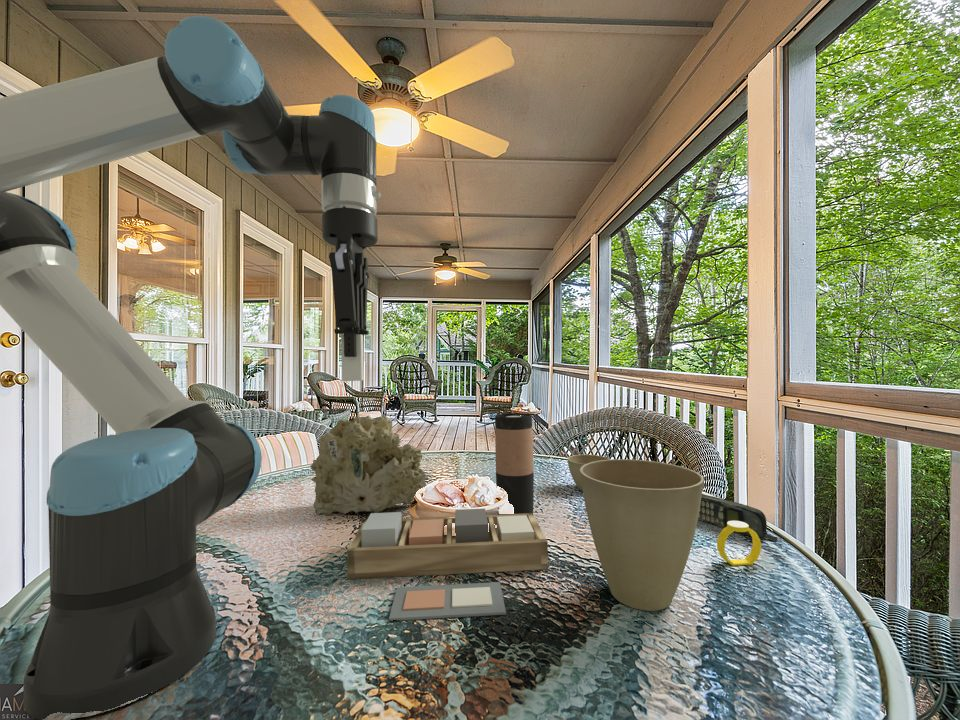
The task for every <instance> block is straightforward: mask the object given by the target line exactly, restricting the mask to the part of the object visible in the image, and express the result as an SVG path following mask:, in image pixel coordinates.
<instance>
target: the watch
mask: <svg viewBox="0 0 960 720" xmlns="http://www.w3.org/2000/svg"><path fill="white" fill-rule="evenodd" d="M734 531H736V532H747V531H749V533H750V535H751V536H750V537H751V540H752V547H751V550H750V552H749V554H748V555H746V557H745V558H742V559H741V558H740V559H729V558H728V555H727V554H726V551H725V550H726V541H727V539H728V537H729V535H731V534H732V533H735V532H734ZM716 548H717V551H718V554H719V556H720V557H721V558H722V559H723V560H724V561H726V562H727V563H728V564H729V565H731V566H733V567H736V566H751V565H753V564H754V563H755V562H757V560H758V559H759V557H760V555H761V552H762V543H761V537H760V536H759V537H758V535H757V534H756V532H755V531H753V530H752V529H750V528H749V525H748V524H747V523H745V522H741V521H728V522H727V527H725V528H722V530H721V531H720V533H719V534H718V536H717V541H716Z"/></svg>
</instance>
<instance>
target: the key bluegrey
mask: <svg viewBox="0 0 960 720" xmlns="http://www.w3.org/2000/svg"><path fill="white" fill-rule="evenodd" d="M401 519H402V511H395V512H393V511H392V512H378V513H376V512H371V513H370V514H369V516H368V518H367V519H366V520H367V521H366V523H365V524H364V526H363V528H362V530H361V533H362V547H384V546H397V543H398V540H399V537H400V534H401V531H402V521H401Z"/></svg>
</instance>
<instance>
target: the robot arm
mask: <svg viewBox="0 0 960 720" xmlns="http://www.w3.org/2000/svg"><path fill="white" fill-rule="evenodd" d="M168 31H169V32H168V33H167V35H166V37H165V41H164V56H156V57H153V58H147V59H145V60H141V61H137V62H134V63H129V64H127V65H122V66H119V67H114V68H111V69H107V70H102V71H98V72H96V73H92V74H87V75H84V76H83V75H82V76H81V77H76V78H72V79H68V80H65V81H61V82H56V83H53V84H49V85H46V86H41V87H38V88H37V87H36V88H34V89H31V90H30V89H29V90H26V91H23V92H19V93H15V94H10V95H8V96H7V95H6V96H3V97H0V307H1V308H2V309H3V310H4V311H5V312H6V313H7V314H8V315H9V317H10V318H11V319H12V320H13V321H14V322H15V323H16V324H17V326H19V327H20V329H21V330H22V331H23V332H24V333H25V334H26V335H27V336H28V338H29V339H30V340H31V341H32V342H33V343H34V344H35V345H36V346H37V347H38V349H39V350H40V351H41V352H42V353H43V354H44V355H45V356H46V357H47V358H48V360H49V361H50V362H52V364H53V365H54V366H55V367H56V368H57V370H58V371H59V372H60V373H61V374H62V375H63V376H64V377H65V378H66V379H67V381H69V383H70V384H71V385H72V386H73V387H74V388H75V389H76V390H77V392H78V393H80V395H81V396H82V397H83V398H84V399H85V400H86V401H87V402H88V404H89V405H90V406H91V407H92V408H93V409H94V410H95V411H96V413H97V414H98V415H99V416H100V417H101V418H102V419H103V420H104V421H105V422H106V424H107V425H108V426H109V427H110V428H111V429H112V430H113V431H114V432H115V433H116V434H108V435H104V436H100V437H95V438H93V439H90V440H86V441H83V442H80V443H78V444H76V445H74V446H73V445H72V446H71V447H68V449H65V450H64V451H63V452H61V453H60V454H59V455H58V456H57V457H56V458H55V459H54V461H53V463H52V465H51V468H50V474H49V475H50V476H49V488H48V490H47V493H46V505H47V507H48V508H47V509H48V511H47V512H48V547H49V549H48V550H49V553H48V555H49V557H48V558H49V588H50V596H49V597H50V603H49V604H50V605H49V613H48V615H47V617H46V620H45V623H44V626H43V628H42V631H41V632H40V633H41V634H39V635H40V636H39V638H38V641H37V644H36V647H35V649H34V652H33V655H32V657H31V661H30V663H29V665H28V667H27V668H26V672H25V673H24V678H23V694H22V695H23V699H22V700H23V709H24V711H25V713H26V714H27V715H29V716H30V717H31V718H34V719H36V720H42V719H45V718H46V717H47V716H49V715H50V714H53V713H57V712H60V713H61V712H62V713H70V714H71V713H86V712H90V711H92V712H93V711H104V710H108V709H112V708H115V707H117V706H120V705H121V704H124V703H126V702H128V701H131V700H134V699H136V698H138V697H141V696H144V695H146V694H150V693H151V692H154V691H156V690H158V691H159V689H160V690H162V689H164V688H165V687H167V686H169V685H170V684H171V683H173V682H175V681H176V680H178V679H179V678H181V677H182V676H184V675H186V674H187V673H188V672H189V671H190V670H191V669H193V668H194V667H195V666H196V665H197V664H199V662H201V661H202V659H203V658H204V657H206V655H207V654H208V652H210V650H211V648H212V647H213V645H214V642H215V641H216V638H217V637H216V636H217V618H216V612H215V609H214V607H213V605H212V604H211V601H210V599H209V595H208V593H207V591H206V588H205V586H204V584H203V581H202V579H201V577H200V575H199V574H200V573H199V572H198V568H197V526H199V525H200V524H202V523H203V522H205V521H206V520H209V518H210V517H212V516H214V515H215V514H217V513H218V512H220V511H222V510H224V509H225V508H229V507H231V506H232V505H234V504H235V503H236V502H237V501H238V500H239V499H241V498H242V497H244V494H246V493H247V492H248V491H249V490H250V489H251V488H252V487H253V485H254V484H255V483H256V481H257V479H258V477H259V474H260V473H261V467H262V463H263V462H262V461H263V458H262V457H263V455H262V450H261V446H260V444H259V443H260V442H259V441H258V439H257V438H256V436H255V435H254V433H252V432H251V431H250V430H249V429H247V428H246V427H244V426H242V425H240V424H237V423H233V422H227V421H224V420H223V419H222V418H221V416H219V414H218V413H217V412H216V411H215V409H213V407H212V406H211V405H210V404H209V403H207V402H206V401H201V400H192V399H188V398H187V397H186V395H184V394H183V392H182V391H181V390H180V388H178V387H177V386H176V385H175V383H174V382H173V381H172V380H171V379H170V378H169V376H168V375H166V373H165V372H164V371H163V370H162V369H161V368H160V367H159V365H158V364H157V363H156V362H155V361H154V360H153V359H152V357H150V355H149V354H148V353H147V352H146V351H145V350H144V349H143V347H141V345H140V344H139V343H138V342H137V341H136V340H135V338H133V337H132V335H131V334H130V332H128V331H127V329H126V328H125V327H124V326H123V325H122V324H121V322H119V321H118V320H117V319H116V317H115V316H114V315H113V314H112V313H111V312H110V310H109V309H108V308H107V307H106V306H105V305H104V304H103V303H102V302H101V301H100V299H98V297H97V296H96V295H95V294H94V293H93V291H91V289H89V287H88V286H87V285H86V284H85V283H84V281H82V279H81V278H80V277H79V275H77V274H78V272H79V270H80V267H81V266H80V260H79V257H78V256H77V255H78V254H77V252H76V251H75V248H76V247H77V243H76V242H77V241H76V238H75V236H74V234H73V231H72V230H71V229H70V227H69V226H68V225H67V224H66V223H65V221H64V220H63V219H62V218H60V217H59V216H58V215H57V214H56V213H54V212H53V211H51V210H50V209H47V208H45V207H44V206H41V205H39V204H38V203H37V202H36V201H33V200H31V199H29V198H27V197H25V196H21V195H18V194H15V193H11V192H9V191H13V190H16V189H20V188H23V187H27V186H30V185H35V184H38V183H41V182H45V181H47V180H49V181H50V180H52V179H55V178H58V177H62V176H66V175H70V174H72V173H76V172H80V171H82V170H86V169H87V170H88V169H90V168H93V167H99V166H101V165H104V164H108V163H111V162H115V161H119V160H121V159H125V158H130V157H132V156H133V157H134V156H136V155H140V154H142V153H147V152H150V151H154V150H157V149H161V148H164V147H168V146H171V145H175V144H179V143H182V142H186V141H188V140H193V139H196V138H199V137H203V136H206V135H211V134H215V133H218V132H222V141H223V145H224V146H223V147H224V148H225V152H226V154H227V155H228V156H229V157H230V158H229V159H230V161H231V163H232V164H233V166H234V167H235V168H236V169H237V170H238V171H240V172H241V173H242V172H243V173H246V174H256V175H261V176H266V177H267V176H268V177H269V176H275V175H276V176H277V175H278V176H279V175H280V176H282V175H283V176H286V175H287V176H290V175H291V176H294V175H295V176H296V175H299V176H300V175H302V176H305V175H306V176H321V181H320V182H321V185H320V186H321V188H320V189H321V192H320V193H321V197H320V198H321V210H322V212H323V213H322V215H321V228H322V229H321V230H322V234H321V236H322V238H323V241H325V243H328V244H329V245H330V246H334V247H335V251H334V252H333V251H332V252H331V251H330V252H329V254H328V259H329V262H330V269H331V277H332V280H331V281H332V287H333V288H332V290H333V301H334V302H333V303H334V315H335V326H336V328H335V329H333V330H334V331H333V332H334V334H335V335H337V334H338V335H340V339H341V340H340V343H341V345H340V347H341V348H340V349H341V381H342V382H355V381H356V382H358V381H359V382H360V381H361V382H362V381H365V376H364V375H365V372H364V371H365V370H364V368H365V366H364V365H365V364H364V363H365V362H364V336H368V335H369V334H370V333H369V331H370V330H367V327H368V326H367V316H368V315H367V313H368V287H369V278H370V274H369V272H368V266H369V265H368V258H367V257H365V255H364V254H365V253H364V250H365V249H366V248H371V247H373V246H375V245H376V244H377V243H378V240H379V238H378V219H377V217H376V215H377V213H378V212H377V210H378V207H377V200H376V199H381V197H382V195H381V191H377V145H378V144H377V139H376V128H375V127H376V125H375V116H374V114H373V112H372V109H371V108H370V107H369V105H367V104H366V103H365V102H364V101H362V100H360V99H358V98H356V97H354V96H350V95H345V94H335V95H333V96H332V97H329V96H328V97H326V98H324V99H323V101H322V102H321V103H320V106H319V108H320V109H319V112H318V115H302V114H301V115H300V114H299V115H298V114H297V115H296V114H289V113H288V112H287V110H286V108H285V107H284V105H283V103H282V102H281V100H280V99H279V96H278V95H277V94H276V92H275V90H274V89H273V88H272V85H271V84H270V82H269V80H268V78H267V76H266V75H265V74H264V71H263V69H262V66H261V63H259V62H258V60H257V59H256V57H255V56H254V55H253V53H251V52H250V51H249V49H248V48H247V46H246V45H245V43H244V42H243V41H242V39H241V37H240V36H239V35H238V34H237V32H235V30H234V29H233V28H231V27H230V26H229V25H228V24H227V23H225V22H224V21H222V20H219V19H217V18H215V17H211V16H208V15H192V16H187V17H185V18H183V19H181V20H179V24H178V25H177V26H175V27H174V28H171V29H170V30H168ZM215 637H216V638H215ZM163 687H164V688H163ZM161 688H162V689H161ZM156 692H157V691H156ZM154 693H155V692H154ZM150 695H151V694H150Z"/></svg>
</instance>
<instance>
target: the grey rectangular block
mask: <svg viewBox="0 0 960 720" xmlns="http://www.w3.org/2000/svg"><path fill="white" fill-rule="evenodd" d="M454 511H455V513H454V516H455V533H456V543H470V542H489V534H488V520H487V516H486V515H487V512H486V508H470V509H469V508H468V509H467V508H463V509H455V510H454Z"/></svg>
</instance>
